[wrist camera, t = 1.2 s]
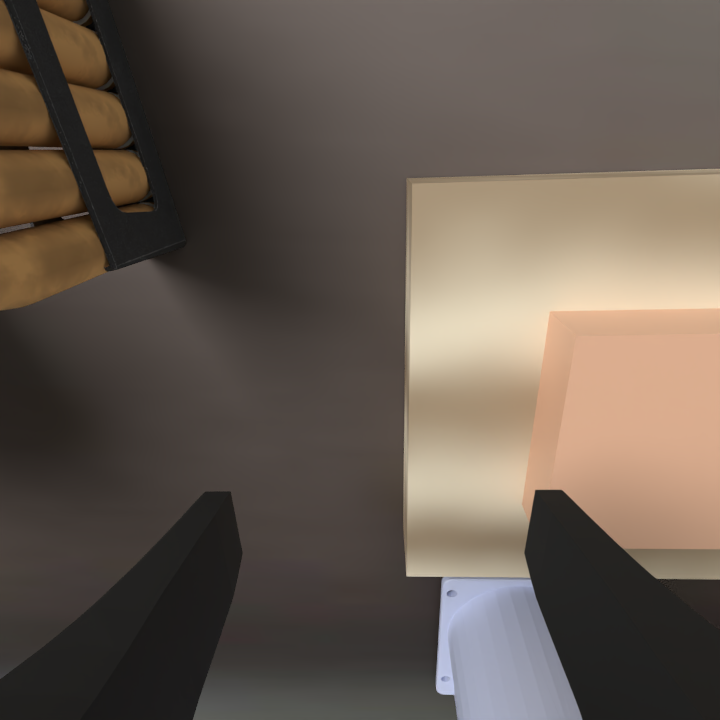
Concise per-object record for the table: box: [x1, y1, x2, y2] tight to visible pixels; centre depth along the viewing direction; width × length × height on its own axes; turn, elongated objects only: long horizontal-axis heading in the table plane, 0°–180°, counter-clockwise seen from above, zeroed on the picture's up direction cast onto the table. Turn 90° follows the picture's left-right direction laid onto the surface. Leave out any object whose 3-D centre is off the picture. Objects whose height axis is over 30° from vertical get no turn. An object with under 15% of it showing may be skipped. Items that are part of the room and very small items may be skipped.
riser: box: [403, 169, 720, 579], centre depth 18 cm, size 16×14×3 cm
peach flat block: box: [522, 308, 720, 549], centre depth 15 cm, size 8×8×2 cm
